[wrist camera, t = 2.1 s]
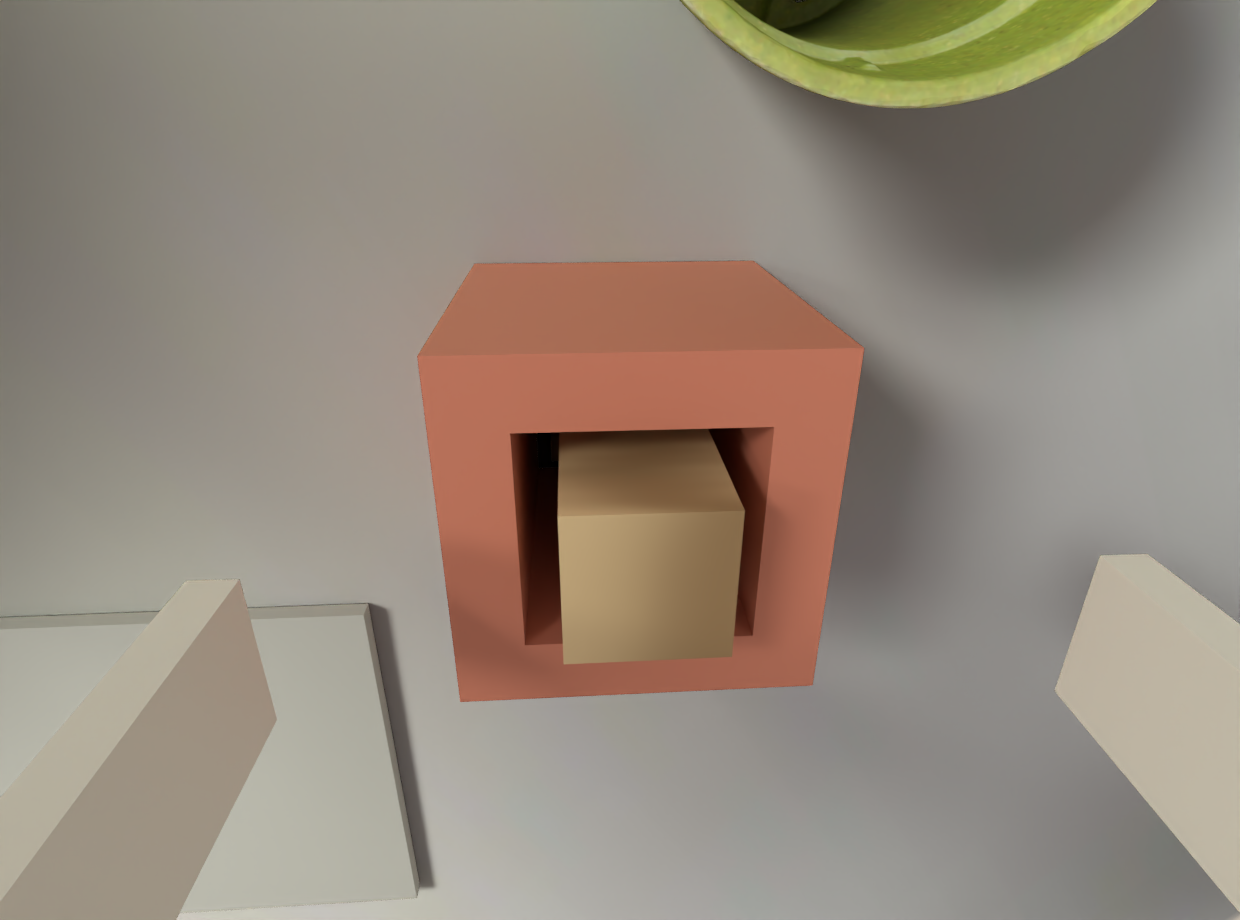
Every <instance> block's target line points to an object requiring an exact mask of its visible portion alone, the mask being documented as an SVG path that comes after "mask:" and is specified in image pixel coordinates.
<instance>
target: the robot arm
mask: <svg viewBox="0 0 1240 920" xmlns="http://www.w3.org/2000/svg"><path fill="white" fill-rule="evenodd" d="M1055 692H1056V693H1057V695H1058V696H1059V697H1060V698H1061V699H1062V701H1063V702H1064V703H1065V704H1066V705H1067V707H1068V708H1069V709H1070V710H1071V711H1072V713H1073V714H1074V715H1075V716H1076V717H1077V719H1078V720H1079V721H1080V722H1081V723H1082V725H1083V726H1084V727H1085V728H1086V729H1087V731H1088V732H1089V733H1090V734H1091V735H1092V737H1093V738H1094V739H1095V740H1096V741H1097V743H1098V744H1099V745H1100V746H1101V747H1102V749H1103V750H1104V751H1105V752H1106V753H1107V755H1108V756H1109V757H1110V758H1111V759H1112V761H1113V762H1114V763H1115V764H1116V765H1117V767H1118V768H1119V769H1120V770H1121V771H1122V772H1123V774H1124V775H1125V776H1126V777H1127V778H1128V780H1129V781H1130V782H1131V783H1132V784H1133V786H1134V787H1135V788H1136V789H1137V790H1138V792H1139V793H1140V794H1141V795H1142V796H1143V798H1144V799H1145V800H1146V801H1147V802H1148V804H1149V805H1150V806H1151V807H1152V808H1153V810H1154V811H1155V812H1156V813H1157V814H1158V816H1159V817H1160V818H1161V819H1162V820H1163V822H1164V823H1165V824H1166V825H1167V826H1168V828H1169V829H1170V830H1171V831H1172V832H1173V834H1174V835H1175V836H1176V837H1177V838H1178V840H1179V841H1180V842H1181V843H1182V844H1183V846H1184V847H1185V848H1186V849H1187V850H1188V852H1189V853H1190V854H1191V855H1192V856H1193V858H1194V859H1195V860H1196V861H1197V862H1198V864H1199V865H1200V866H1201V867H1202V868H1203V870H1204V871H1205V872H1206V873H1207V874H1208V876H1209V877H1210V878H1211V879H1212V880H1213V882H1214V883H1215V884H1216V885H1217V886H1218V888H1219V889H1220V890H1221V891H1222V892H1223V894H1224V895H1225V896H1226V897H1227V898H1228V900H1229V901H1230V902H1231V903H1232V904H1233V906H1234V907H1235V908H1236V909H1237V910H1238V912H1239V913H1240V624H1239V623H1237V622H1236V621H1235V620H1234V619H1232V618H1231V617H1230V616H1228V615H1227V614H1226V613H1224V612H1223V611H1222V610H1220V609H1219V608H1218V607H1216V606H1215V605H1214V604H1212V603H1211V602H1210V601H1209V600H1207V599H1206V598H1205V597H1203V596H1202V595H1201V594H1199V593H1198V592H1197V591H1195V590H1194V589H1193V588H1191V587H1190V586H1189V585H1188V584H1186V583H1185V582H1184V581H1182V580H1181V579H1180V578H1178V577H1177V576H1176V575H1174V574H1173V573H1172V572H1170V571H1169V570H1168V569H1167V568H1165V567H1164V566H1163V565H1161V564H1160V563H1159V562H1157V561H1156V560H1155V559H1153V558H1152V557H1151V556H1149V555H1148V554H1129V555H1100V557H1099V560H1098V563H1097V566H1096V569H1095V572H1094V575H1093V578H1092V581H1091V584H1090V587H1089V590H1088V593H1087V596H1086V599H1085V602H1084V605H1083V608H1082V611H1081V614H1080V617H1079V620H1078V623H1077V626H1076V628H1075V631H1074V634H1073V637H1072V640H1071V643H1070V646H1069V649H1068V652H1067V655H1066V658H1065V661H1064V664H1063V667H1062V670H1061V673H1060V676H1059V679H1058V682H1057V685H1056V688H1055ZM276 721H277V717H276V713H275V710H274V706H273V702H272V698H271V695H270V691H269V687H268V684H267V680H266V676H265V672H264V669H263V665H262V661H261V657H260V654H259V650H258V646H257V643H256V639H255V635H254V631H253V628H252V624H251V620H250V616H249V613H248V609H247V605H246V602H245V598H244V594H243V590H242V587H241V583H240V579H227V580H190V581H185V583H184V584H183V585H182V586H181V587H180V588H179V590H178V591H177V592H176V593H175V594H174V595H173V597H172V598H171V599H170V600H169V601H168V602H167V604H166V605H165V606H164V607H163V608H162V609H161V611H160V612H159V613H158V614H157V615H156V616H155V618H154V619H153V620H152V621H151V622H150V623H149V625H148V626H147V627H146V628H145V629H144V630H143V632H142V633H141V634H140V635H139V636H138V637H137V639H136V640H135V641H134V642H133V643H132V644H131V646H130V647H129V648H128V649H127V650H126V651H125V653H124V654H123V655H122V656H121V657H120V659H119V660H118V661H117V662H116V663H115V664H114V666H113V667H112V668H111V669H110V670H109V671H108V673H107V674H106V675H105V676H104V677H103V678H102V680H101V681H100V682H99V683H98V684H97V685H96V687H95V688H94V689H93V690H92V691H91V692H90V694H89V695H88V696H87V697H86V698H85V699H84V701H83V702H82V703H81V704H80V705H79V706H78V708H77V709H76V710H75V711H74V712H73V713H72V715H71V716H70V717H69V718H68V719H67V720H66V722H65V723H64V724H63V725H62V726H61V727H60V729H59V730H58V731H57V732H56V733H55V734H54V736H53V737H52V738H51V739H50V740H49V741H48V743H47V744H46V745H45V746H44V747H43V748H42V750H41V751H40V752H39V753H38V754H37V755H36V757H35V758H34V759H33V760H32V761H31V763H30V764H29V765H28V766H27V767H26V768H25V770H24V771H23V772H22V773H21V774H20V775H19V777H18V778H17V779H16V780H15V781H14V782H13V784H12V785H11V786H10V787H9V788H8V789H7V791H6V792H5V793H4V794H3V795H2V796H1V798H0V920H176V919H177V917H178V915H179V913H180V911H181V909H182V907H183V905H184V903H185V901H186V899H187V897H188V895H189V893H190V891H191V889H192V887H193V885H194V883H195V881H196V879H197V877H198V875H199V873H200V871H201V869H202V867H203V865H204V863H205V861H206V859H207V857H208V856H209V854H210V852H211V850H212V848H213V846H214V844H215V842H216V840H217V838H218V836H219V834H220V832H221V830H222V828H223V826H224V824H225V822H226V820H227V818H228V816H229V814H230V812H231V810H232V808H233V806H234V804H235V802H236V800H237V798H238V796H239V794H240V792H241V790H242V788H243V786H244V784H245V782H246V780H247V778H248V776H249V774H250V772H251V770H252V768H253V766H254V764H255V762H256V760H257V758H258V756H259V755H260V753H261V751H262V749H263V747H264V745H265V743H266V741H267V739H268V737H269V735H270V733H271V731H272V729H273V727H274V725H275V723H276Z"/></svg>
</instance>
